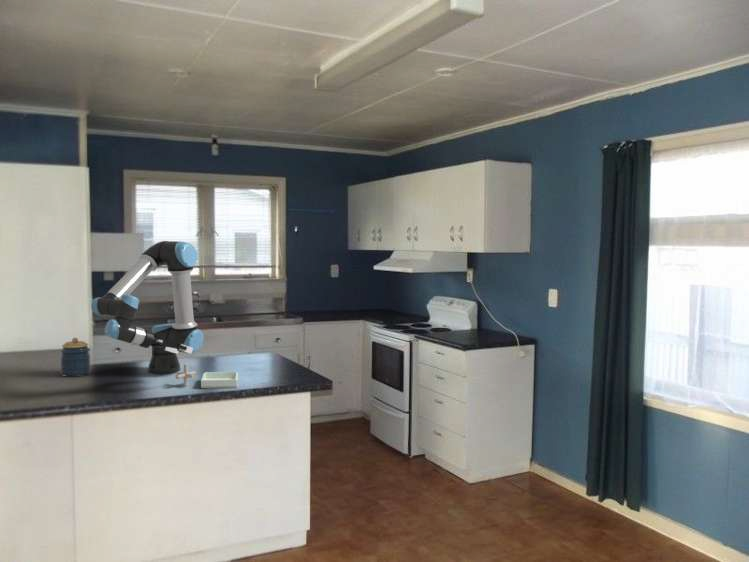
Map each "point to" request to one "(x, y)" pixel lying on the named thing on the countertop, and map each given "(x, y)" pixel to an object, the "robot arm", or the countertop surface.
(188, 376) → the pipe connector
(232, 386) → the tray
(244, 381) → the countertop surface
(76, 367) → the canister
